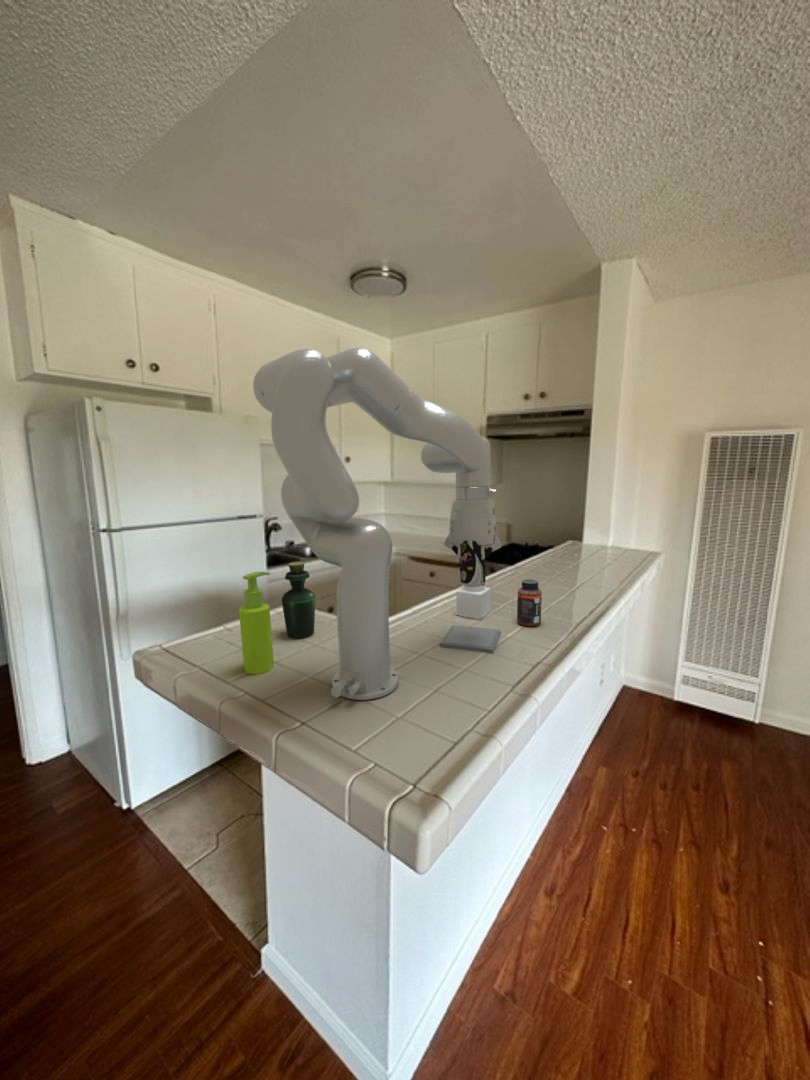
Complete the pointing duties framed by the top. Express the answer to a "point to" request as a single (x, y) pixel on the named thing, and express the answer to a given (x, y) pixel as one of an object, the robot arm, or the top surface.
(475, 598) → the medicine bottle
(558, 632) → the top surface
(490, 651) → the plate
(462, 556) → the beverage can
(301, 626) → the potion bottle
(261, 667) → the soap dispenser
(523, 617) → the supplement bottle
